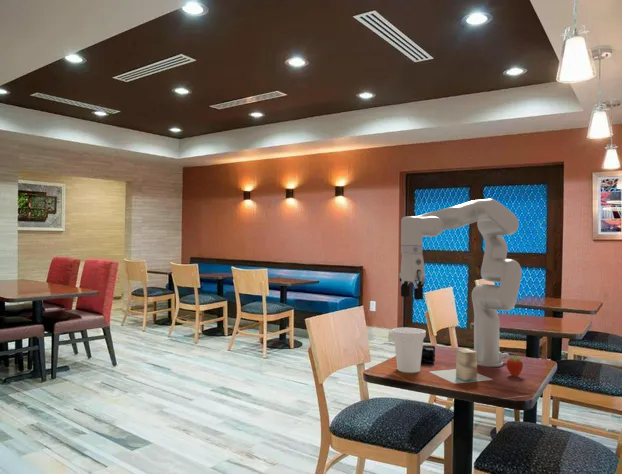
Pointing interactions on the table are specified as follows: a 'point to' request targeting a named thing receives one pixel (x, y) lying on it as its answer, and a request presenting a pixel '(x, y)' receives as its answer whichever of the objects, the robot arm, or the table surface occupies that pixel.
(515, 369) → the fruit
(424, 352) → the black box
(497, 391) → the table surface
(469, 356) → the beech block
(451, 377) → the mat
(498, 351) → the robot arm
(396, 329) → the cup
